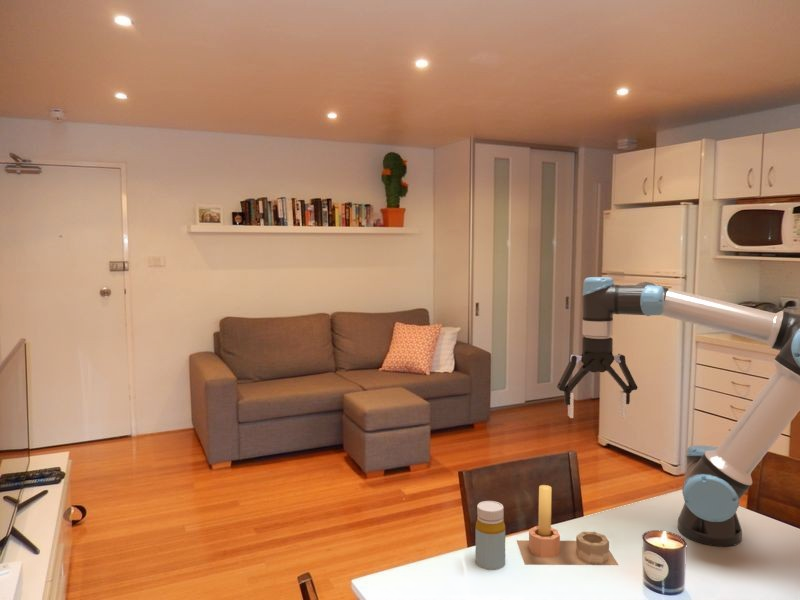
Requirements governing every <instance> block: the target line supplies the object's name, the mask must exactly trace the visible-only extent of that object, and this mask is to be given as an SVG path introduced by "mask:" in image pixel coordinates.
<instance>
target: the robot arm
mask: <svg viewBox="0 0 800 600" xmlns="http://www.w3.org/2000/svg"><path fill="white" fill-rule="evenodd" d="M582 286H583V289H582V295H581V296H582V335H583V337H582V340H581V341H582V343H581V345H582V346H581V347H582V348H581V351H582V352H581V355H575V354H574V353H573V354H572V353H571V354H570V355H569V359H568V360H569V361H568V364H567V366H566V368H565V369H564V371H563V374H562V375H561V378H560V379H559V382H558V383H557V385H556V387H557V389H558V390H559V391H561V392H563V401H564V404H565V405H566V406H567V417H569V418H570V419H574V392H573V390H574V388H575V387H576V386H578V384H579V383H580V382H581V380H582V379H583V378H584V377H585V376H586V375H587V374H588V373H589V372H591V373H598V372H599V373H605V372H607V373H608V374H609V375H610V377H612V378H613V380H614V381H615V383H617V385H618V386H619V387H620V388H621V389H622V390H619V416H620V417H622V418H624V419H626V418H627V405H630V402H631V397H630V396H631V393H632V392H633V391H637V390H638V388H639V387H638V385H637V383H636V382H635V379H634V378H633V375H632V372H631V371H630V370H629V366H628V365H627V364H626V356H625V355H624V354H621V353H618V354H615V355H614V354H613V345H614V344H613V343H614V342H613V338H612V336H613V334H614V322H613V320H614V315H629V316H631V315H632V316H633V315H634V316H646V317H650V316H662V317H667V318H671V319H675V320H678V321H680V322H685V323H689V324H694V325H698V326H700V327H701V326H702V327H705V328H708V329H712V330H716V331H720V332H724V333H727V334H728V333H729V334H732V335H735V336H739V337H743V338H746V339H750V340H755V341H757V342H762V343H765V344H767V346H768V347H769V348H770V349H774V350H777V351H779V352H778V354H777V355H776V356H775V358H774V359H773V362H774V365H775V366H774V367H775V370H774V372H773V373H772V374H771V376H770V377H769V378H768V379H767V381H766V382H765V384H764V385H763V386H762V388H761V389H760V390H759V392H758V393H757V394H756V395H755V397H754V398H753V399H752V401H751V402H750V404H749V405H748V406H747V408H746V409H745V410H744V411H743V413H742V415H740V417H739V418H738V420H736V422H735V423H734V425H733V426H732V427H731V429H730V430H729V432H728V433H727V435H726V436H725V437H724V438H723V440H721V442H720V444H719V445H718V446H713V445H703V444H702V445H698V444H697V445H691V446H689V447H687V449H686V455H685V457H686V465H685V466H686V468H685V476H684V481H683V482H684V483H683V486H682V496H683V497H682V498H683V500H684V504H683V505H682V508H681V511H680V514H679V516H678V517H677V519H678V520H677V529H678V531H679V533H680V534H681V535H682V536H684V537H686V538H687V539H690V540H692V541H695V542H697V543H701V544H703V545H704V544H705V545H708V546H716V547H731V546H735V545H738V544H740V543H741V542H742V539H743V537H742V536H743V530H742V527H741V523H740V521H739V520H740V519H739V517H738V515H737V511H738V508H739V507H740V506H739V505H740V500H741V499H742V498H743V497H744V495H745V494H746V492H748V490H749V488H750V487H751V486H752V485H753V479H752V472H753V471H754V470H755V468H756V467H757V466H758V465H759V463H760V462H761V461H762V460H763V458H764V457H765V455H766V454H767V453H768V452H769V450H770V449H771V448H772V447H773V445H774V444H775V443H776V442H777V440H778V439H779V438H780V437H781V435H782V434H783V433H784V431H785V430H786V429H787V428H788V426H789V424H791V422H792V421H793V420H794V419H795V417H796V416H797V414H798V413H799V412H800V314H799V313H793V312H790V311H789V312H788V311H785V310H780V311H778V312H776V313H775V312H771V311H766V310H762V309H758V308H755V307H750V306H745V305H741V304H736V303H732V302H728V301H726V300H725V301H724V300H720V299H715V298H713V297H707V296H703V295H699V294H695V293H690V292H688V291H687V292H686V291H683V290H677V289H674V288H668V287H665V286H661V285H656V284H654V283H652V282H649V281H643V282H642V281H641V282H638V283H637V284H634V285H633V284H629V285H628V284H627V285H625V284H623V285H622V284H615V282H614V279H613V277H609V276H592V277H591V276H590V277H586V278H584V280H583V285H582ZM579 362H581V363H582V364H581V366H580V367H579V370H578V371H577V372H576V374H575V375H574V376H572V375H573V372H574V370H575V367H576V365H577V364H579ZM614 362H615V363H617V364H618V366H619V367H620V370H621V372H622V374H623V376H624V377H625V380H626V381H627V383H626V382H625V381H624V380H623V379H622V377H620V375H619V374H618V373H617V372H616V370H615V369H614V368H613V367H612V364H613V363H614ZM571 376H572V378H571ZM570 378H571V379H570Z"/></svg>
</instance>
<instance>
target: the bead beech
mask: <svg viewBox="0 0 800 600" xmlns="http://www.w3.org/2000/svg"><path fill="white" fill-rule="evenodd" d="M575 537H576V540H575V541H576V554H577V556H578V558H579V559H580V560H582V561H585V562H587V563H590V564H603V563H605V562H606V561H607V560H609V551H610V541H609V539H608V538H607V536H606V535H604V534H601V533H598V532H596V531H582V532H580V533H578V534H576V535H575Z"/></svg>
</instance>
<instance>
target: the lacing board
mask: <svg viewBox="0 0 800 600" xmlns="http://www.w3.org/2000/svg"><path fill="white" fill-rule="evenodd" d="M516 542H517V543H516V544H517V546H518V549H519V552H520V555H521V558H522V560H523V563H524V565H527V566H528V565H530V566H533V565H534V566H536V565H537V566H539V565H540V566H544V565H545V566H546V565H547V566H619V563H618V562H617V560H616V558H615V556H614V555H613V553H612V552H611V551H610V550H609V560H607V561H606V562H605V563H603V564H590V563H587V562H585V561H582V560H580V559H579V558H578V556H577V554H576V540H560V553H559V554H557V555H556V556H554V557H540V556H537V555H535V554H532V553H531V551H530V549H529V539H528V540H525V539H524V540H522V539H521V540H518V539H517V540H516Z"/></svg>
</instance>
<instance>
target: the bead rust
mask: <svg viewBox="0 0 800 600" xmlns="http://www.w3.org/2000/svg"><path fill="white" fill-rule="evenodd" d="M528 540H529V549H530V551H531V553H532V554H535V555H537V556H540V557H554V556H556V555H557V554H559V553H560V541H561V534H560V532H559V531H558V529H556V528H553V527H551V537H542V536H539V535H538V525H535V526H534V527H531V528H529V529H528Z"/></svg>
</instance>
